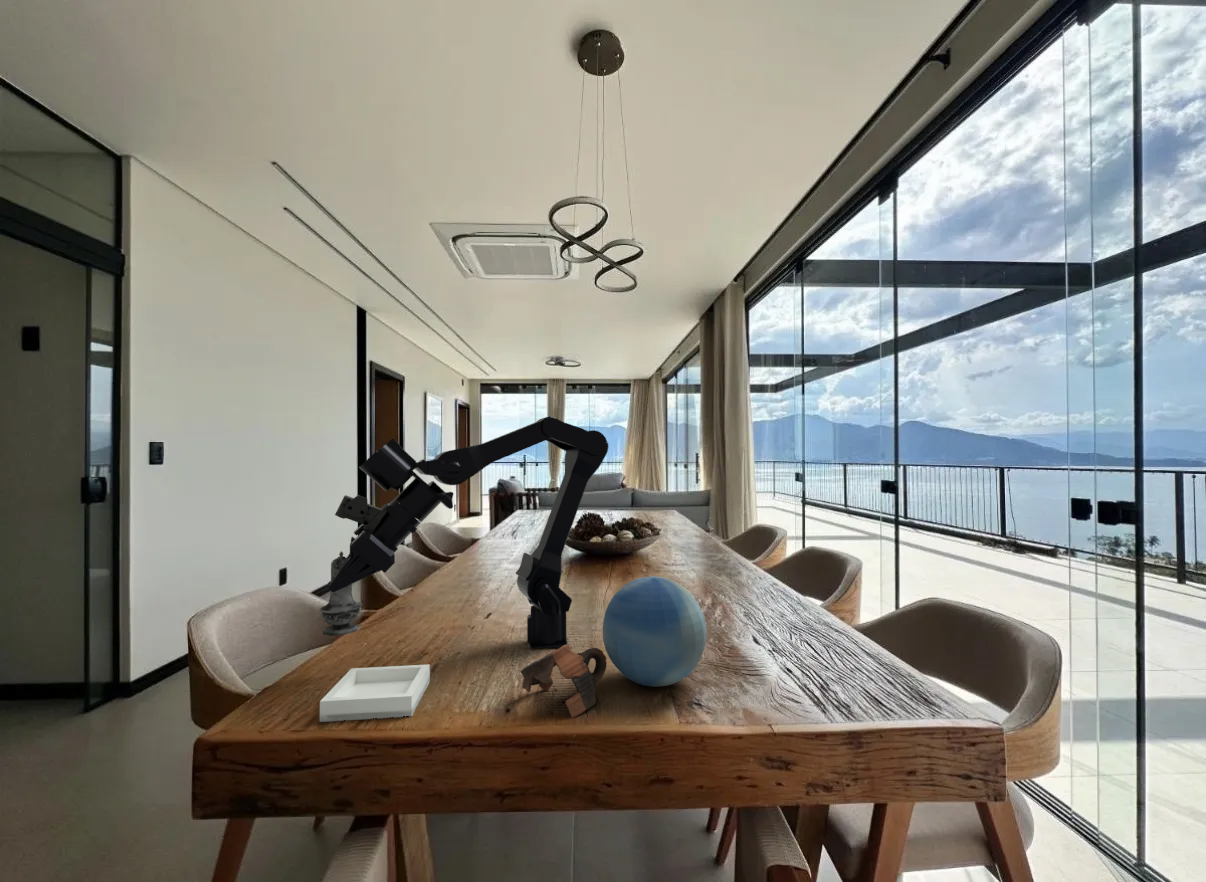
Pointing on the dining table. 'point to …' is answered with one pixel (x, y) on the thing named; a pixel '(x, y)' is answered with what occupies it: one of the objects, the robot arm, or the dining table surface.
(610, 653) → the decorative ball
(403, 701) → the box
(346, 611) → the grey stone finial
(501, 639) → the dining table surface
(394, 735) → the dining table surface
